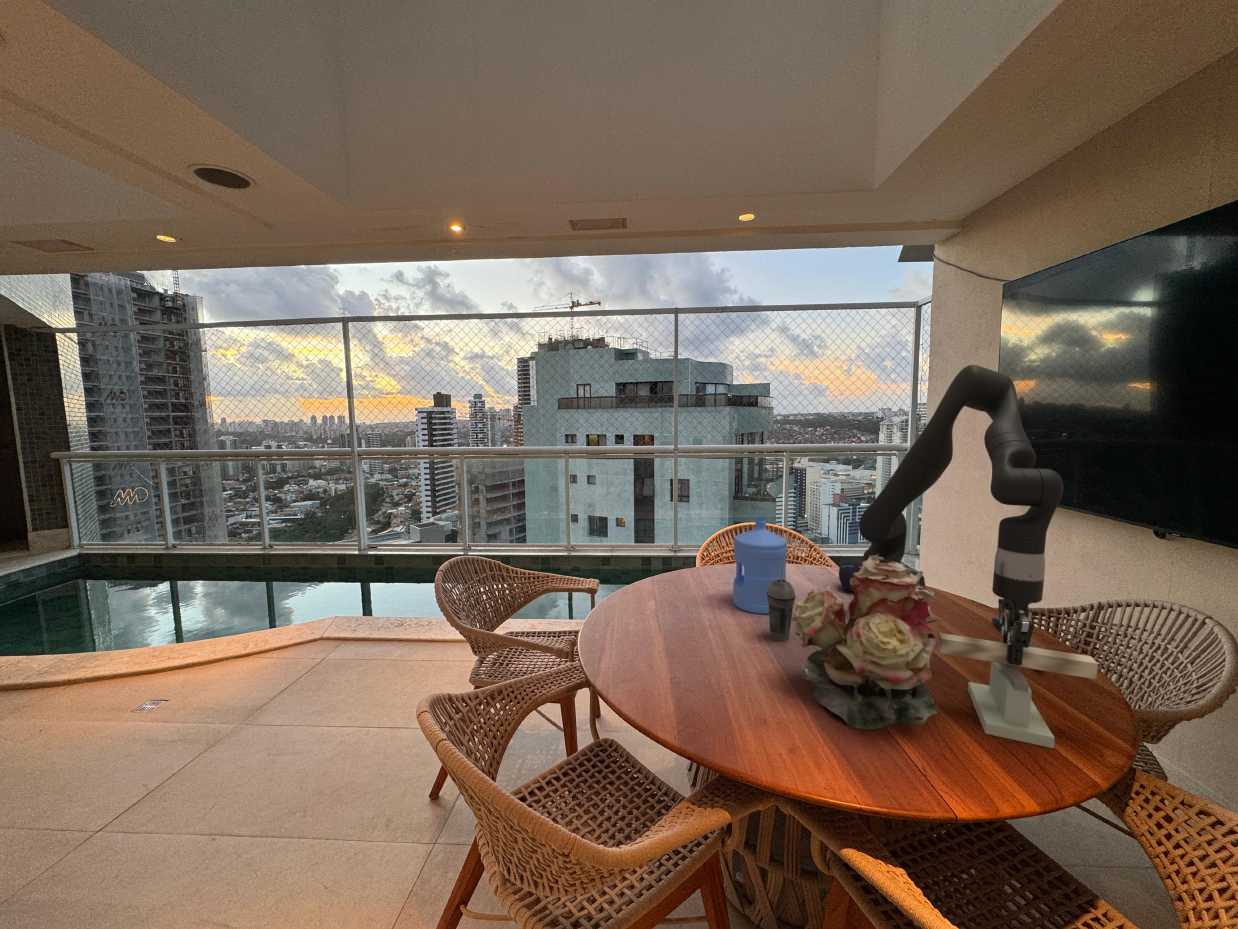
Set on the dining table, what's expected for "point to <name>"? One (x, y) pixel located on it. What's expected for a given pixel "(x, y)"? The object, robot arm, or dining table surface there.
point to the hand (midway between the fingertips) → (1011, 659)
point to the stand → (1009, 707)
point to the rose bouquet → (871, 646)
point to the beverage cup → (780, 608)
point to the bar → (1030, 658)
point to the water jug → (757, 566)
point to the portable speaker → (854, 567)
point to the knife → (996, 624)
